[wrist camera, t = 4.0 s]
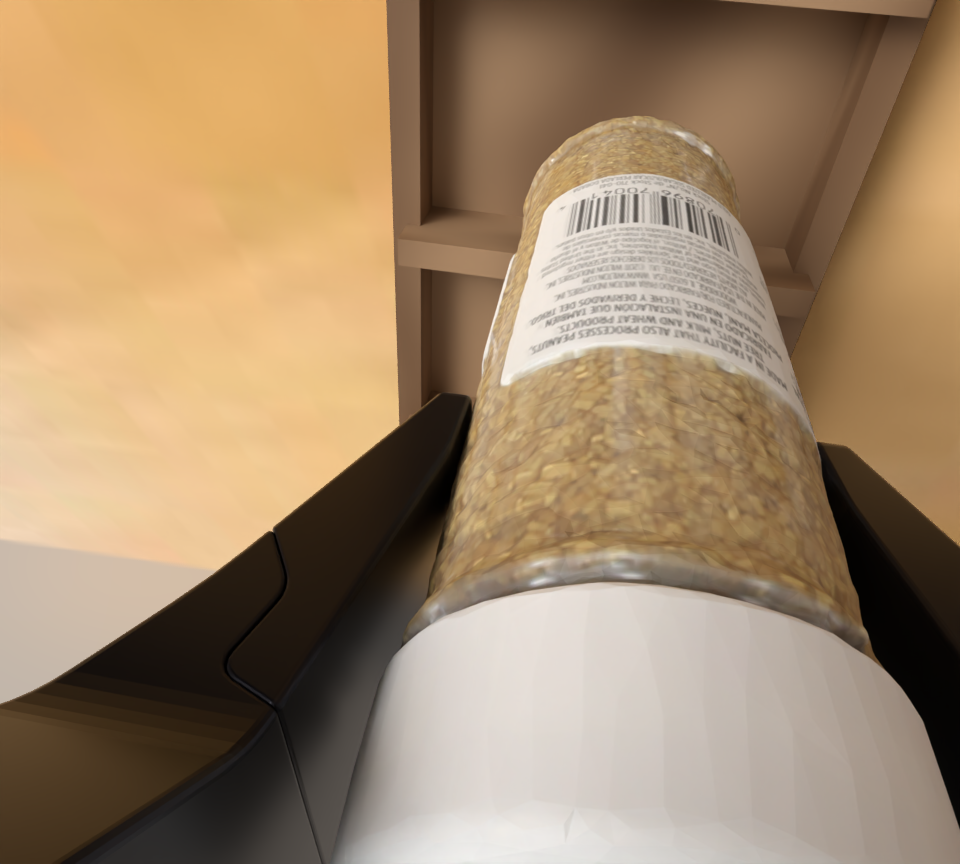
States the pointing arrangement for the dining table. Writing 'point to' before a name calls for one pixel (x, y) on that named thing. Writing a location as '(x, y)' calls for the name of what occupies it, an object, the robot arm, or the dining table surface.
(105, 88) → the dining table surface
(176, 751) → the robot arm
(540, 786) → the sprinkles bottle
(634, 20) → the rack
